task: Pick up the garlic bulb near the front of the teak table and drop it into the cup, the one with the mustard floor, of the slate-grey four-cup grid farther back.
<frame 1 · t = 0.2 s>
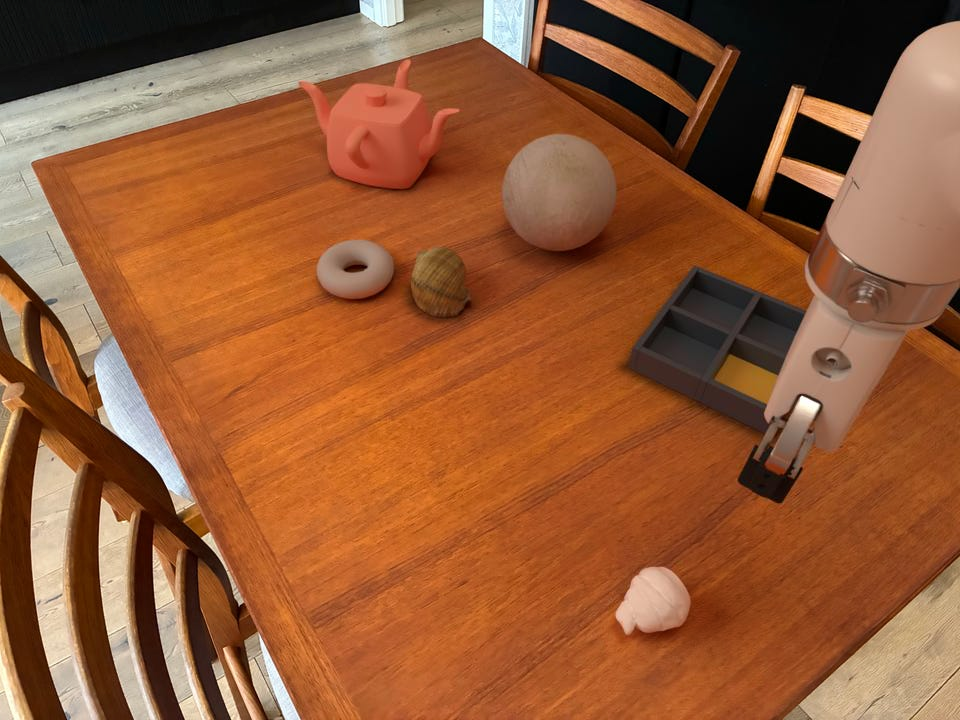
hand: (783, 443, 53), 21 cm above the table, tool pointing down, fingers open, 9 cm apart
pot: (385, 163, 113), on the table
garlic bulb: (641, 619, 66), on the table
donut: (357, 279, 96), on the table
seashell: (442, 295, 94), on the table
decorative sphere: (553, 239, 101), on the table
grid: (725, 354, 87), on the table
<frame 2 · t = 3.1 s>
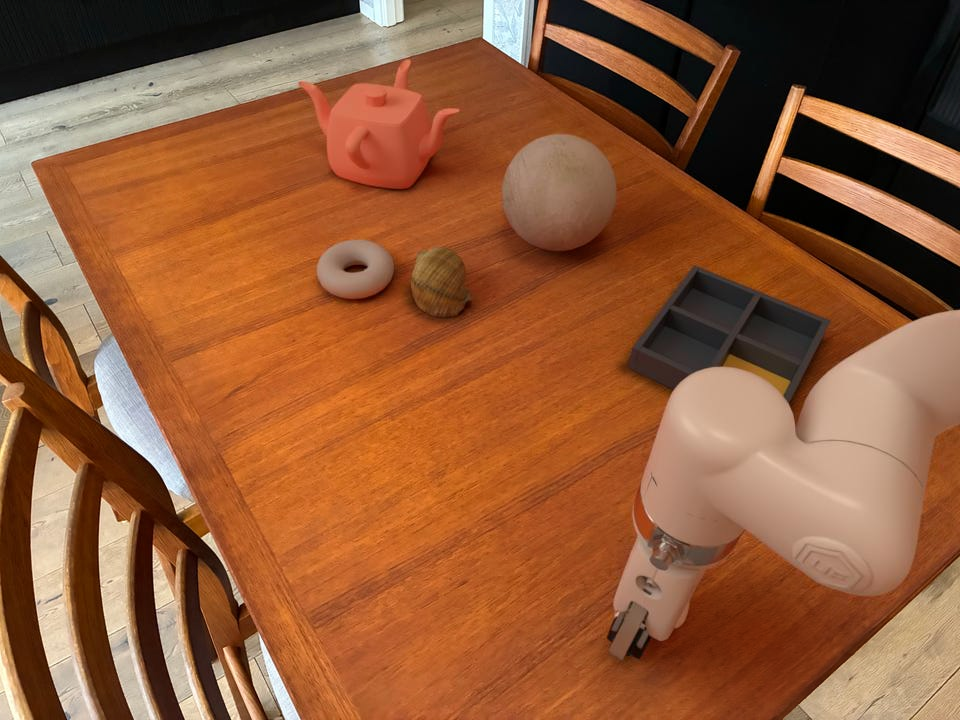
hand: (643, 611, 65), 1 cm above the table, tool pointing down, fingers closed on garlic bulb, 6 cm apart
garlic bulb: (640, 621, 66), on the table, touching gripper
everything else where it was.
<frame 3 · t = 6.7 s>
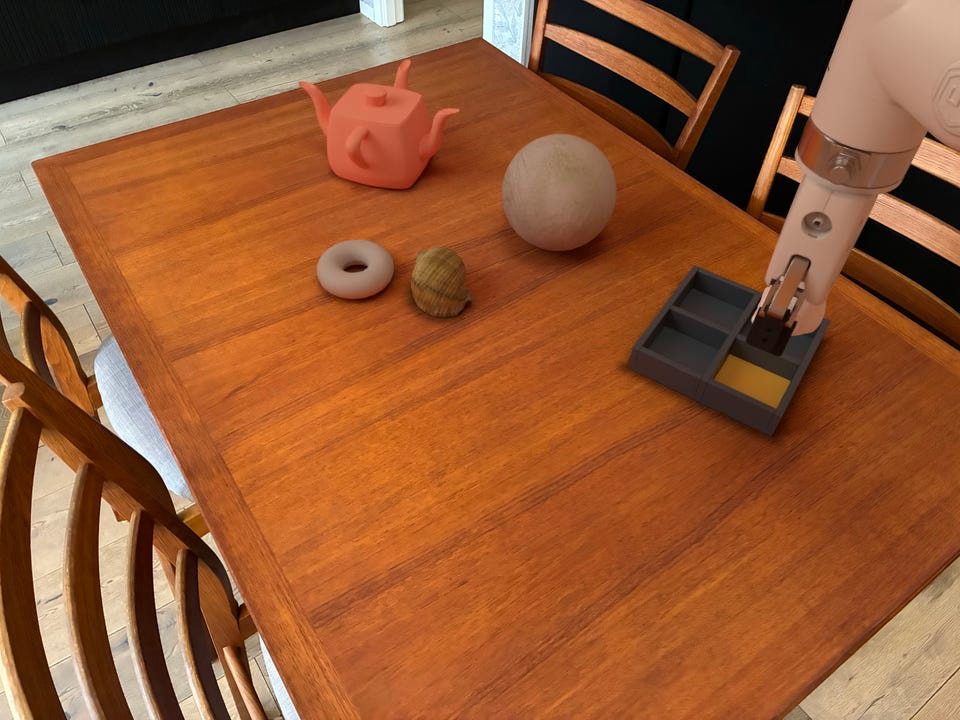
hand: (777, 321, 65), 18 cm above the table, tool pointing down, fingers closed on garlic bulb, 6 cm apart
garlic bulb: (772, 334, 66), point 17 cm above the table, touching gripper
everything else where it was.
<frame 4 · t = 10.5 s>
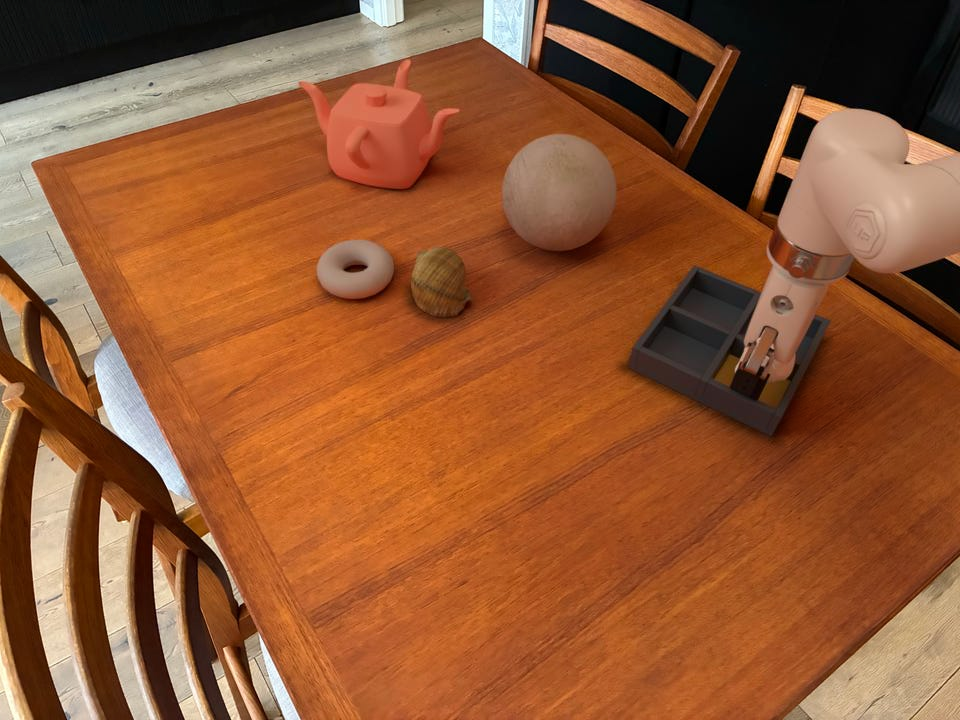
hand: (756, 371, 80), 4 cm above the table, tool pointing down, fingers closed on garlic bulb, 6 cm apart
garlic bulb: (752, 380, 81), point 2 cm above the table, touching gripper
everything else where it was.
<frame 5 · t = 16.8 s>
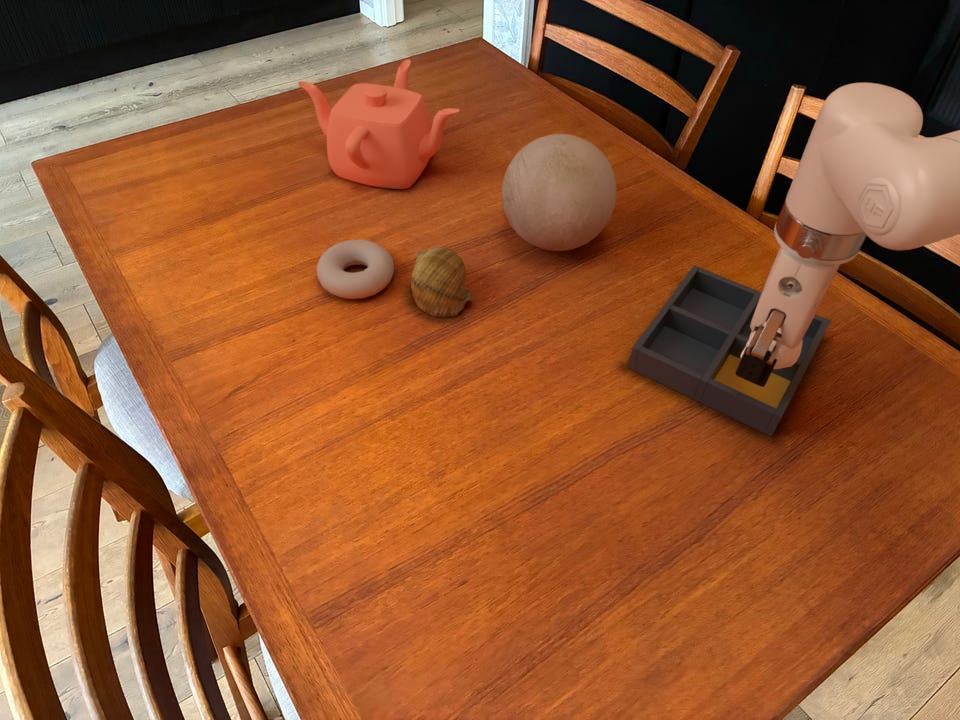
hand: (762, 357, 79), 6 cm above the table, tool pointing down, fingers closed on garlic bulb, 6 cm apart
garlic bulb: (758, 367, 80), point 5 cm above the table, touching gripper
everything else where it was.
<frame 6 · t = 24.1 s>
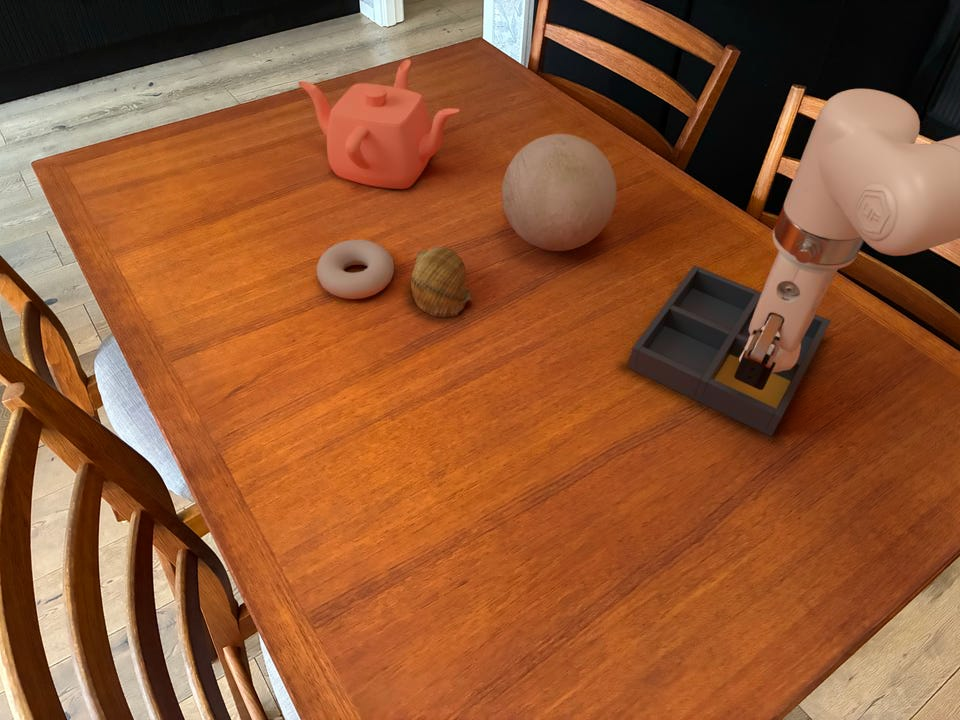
hand: (761, 360, 79), 6 cm above the table, tool pointing down, fingers closed on garlic bulb, 6 cm apart
garlic bulb: (756, 370, 80), point 4 cm above the table, touching gripper
everything else where it was.
when the fingers open (6 cm above the table, at t = 30.6 s): garlic bulb drops 4 cm, resting on grid.
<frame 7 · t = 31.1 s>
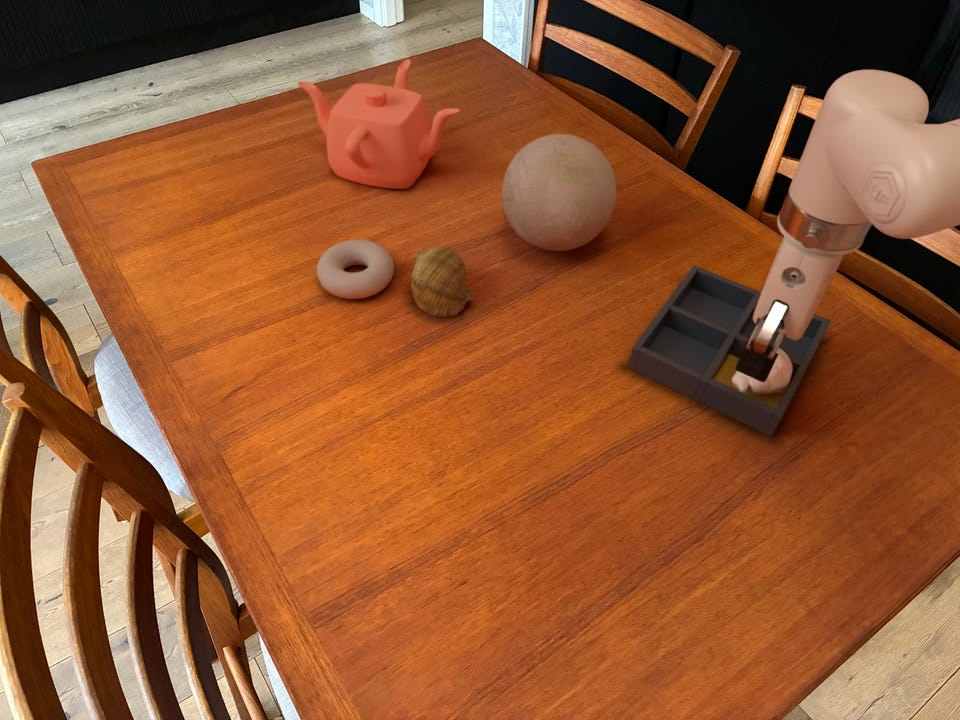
hand: (766, 346, 77), 8 cm above the table, tool pointing down, fingers open, 9 cm apart
garlic bulb: (749, 391, 82), point 1 cm above the table, touching grid
everything else where it was.
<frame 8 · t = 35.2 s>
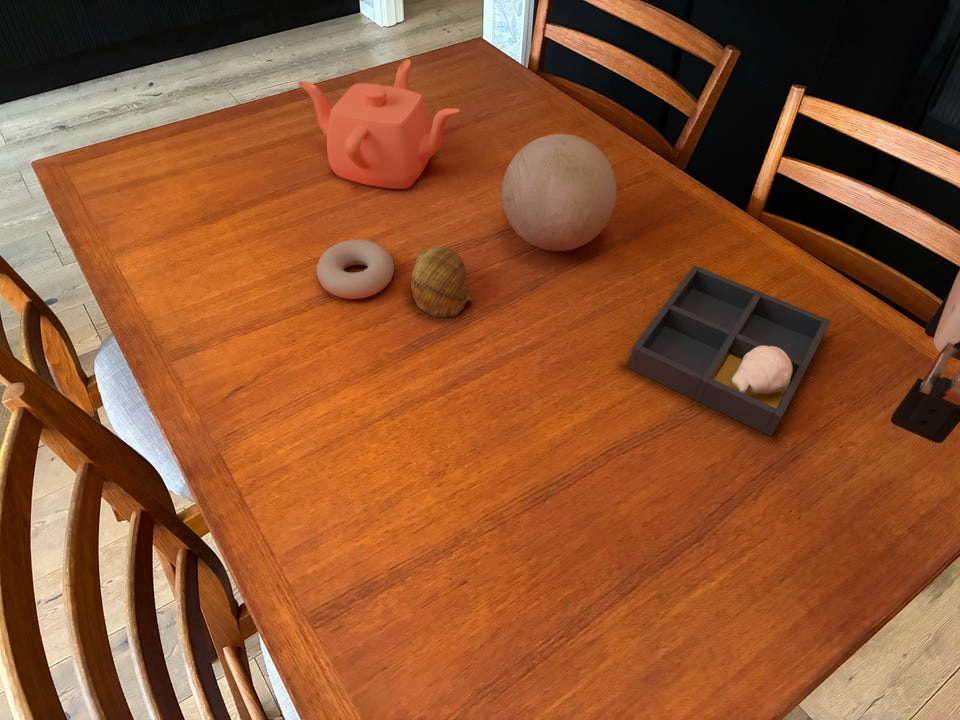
hand: (931, 383, 50), 26 cm above the table, tool pointing down, fingers open, 9 cm apart
nothing on the table moved.
at the end: garlic bulb inside the target area in the grid (0.4 cm from its centre), point 0.6 cm above the grid's base; the gripper is holding nothing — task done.
